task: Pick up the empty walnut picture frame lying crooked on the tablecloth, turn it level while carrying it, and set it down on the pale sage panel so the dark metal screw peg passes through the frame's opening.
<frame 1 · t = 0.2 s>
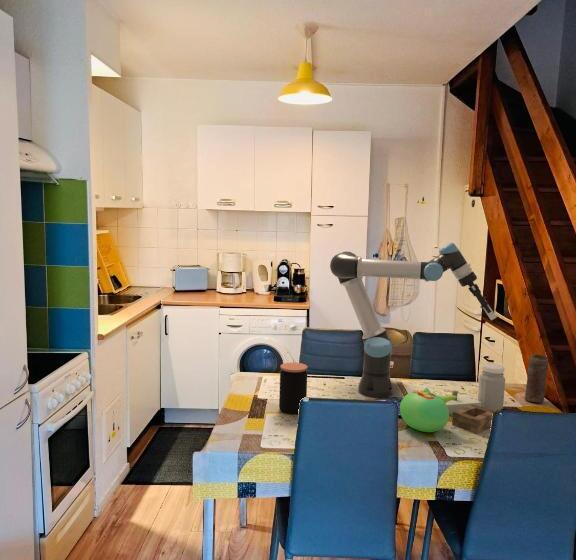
hand: (492, 315, 218), 36 cm above the table, tool tilted 35°, fingers open, 13 cm apart
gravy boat: (423, 429, 182), on the table
jar: (489, 409, 205), on the table
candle: (534, 401, 215), on the table
coffee jar: (292, 410, 197), on the table
panel: (453, 409, 203), on the table
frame: (474, 424, 187), on the table
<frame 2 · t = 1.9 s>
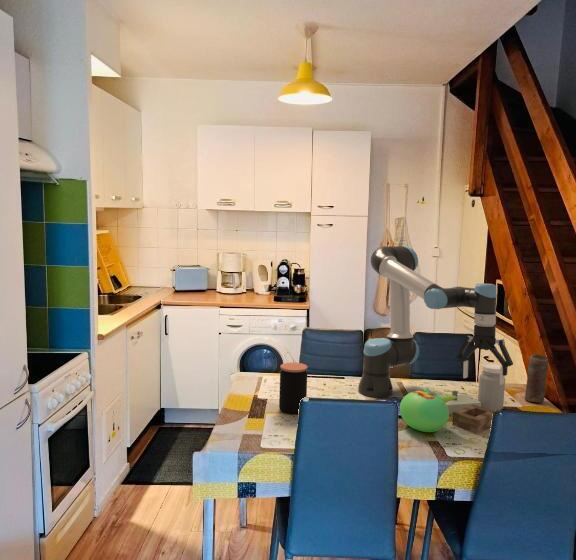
hand: (483, 380, 188), 16 cm above the table, tool pointing down, fingers open, 13 cm apart
nothing on the table moved.
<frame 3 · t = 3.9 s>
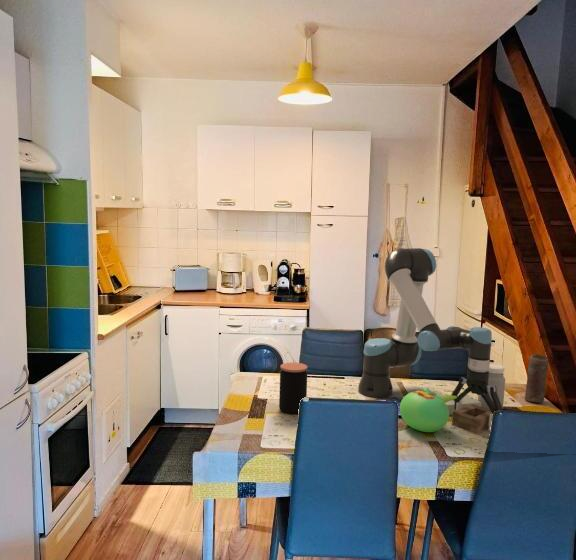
hand: (474, 424, 187), 0 cm above the table, tool pointing down, fingers open, 13 cm apart
nothing on the table moved.
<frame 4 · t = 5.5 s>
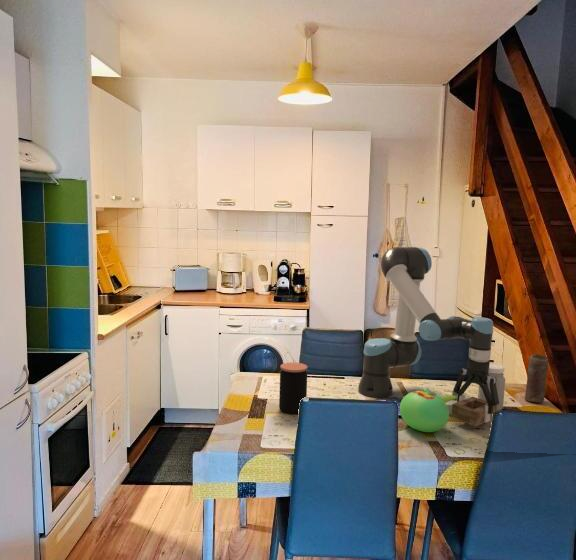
hand: (473, 416, 188), 3 cm above the table, tool pointing down, fingers closed on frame, 10 cm apart
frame: (473, 417, 188), point 3 cm above the table, touching gripper
everything else where it was.
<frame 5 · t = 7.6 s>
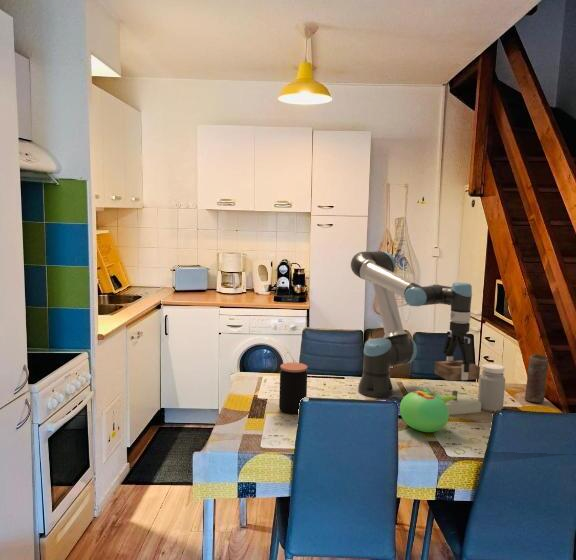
hand: (456, 375, 201), 14 cm above the table, tool pointing down, fingers closed on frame, 10 cm apart
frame: (456, 376, 201), point 14 cm above the table, touching gripper
everything else where it was.
when the fingers open (5 cm above the table, at t = 9.5 s): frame stays where it is, resting on panel.
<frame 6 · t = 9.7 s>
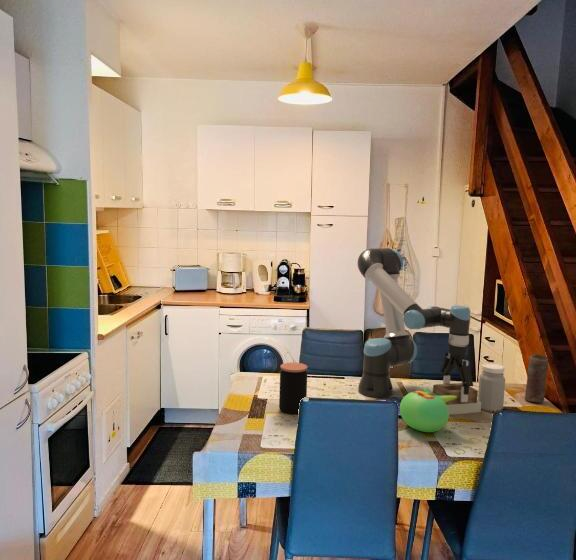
hand: (454, 396, 203), 5 cm above the table, tool pointing down, fingers open, 12 cm apart
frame: (454, 399, 203), point 4 cm above the table, touching panel
everything else where it was.
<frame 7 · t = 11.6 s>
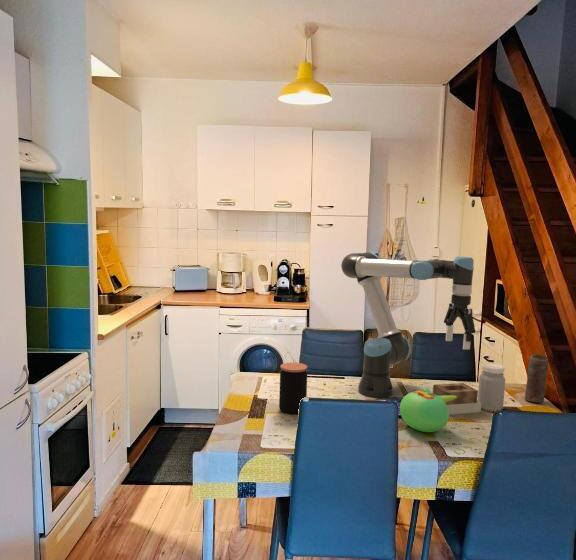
hand: (457, 344, 207), 25 cm above the table, tool pointing down, fingers open, 13 cm apart
nothing on the table moved.
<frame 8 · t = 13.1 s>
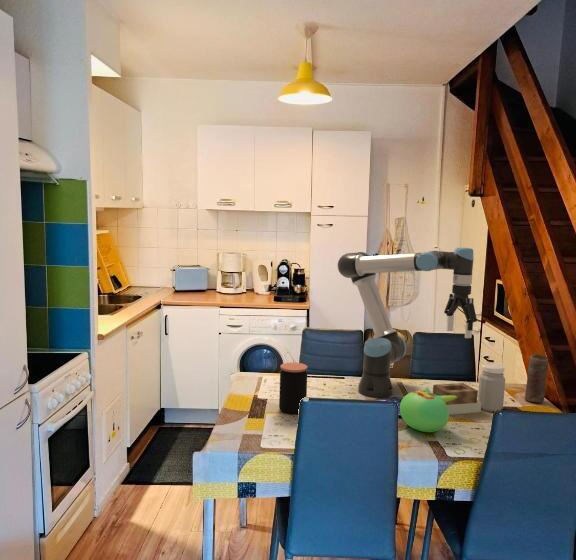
hand: (458, 334, 211), 29 cm above the table, tool pointing down, fingers open, 13 cm apart
nothing on the table moved.
at the end: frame inside the target area on the panel (0.1 cm from its centre), point 4.0 cm above the panel's base; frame tilted 0°; the gripper is holding nothing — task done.
